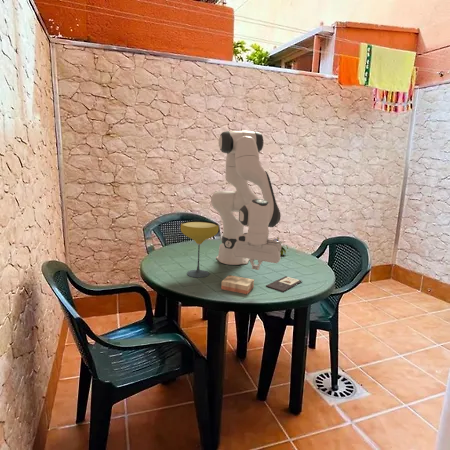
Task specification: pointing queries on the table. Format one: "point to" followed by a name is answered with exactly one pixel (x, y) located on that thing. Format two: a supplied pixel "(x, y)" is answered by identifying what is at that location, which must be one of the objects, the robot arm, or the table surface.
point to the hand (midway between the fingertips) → (255, 269)
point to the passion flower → (281, 246)
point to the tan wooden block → (237, 284)
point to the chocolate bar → (283, 284)
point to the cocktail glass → (199, 238)
